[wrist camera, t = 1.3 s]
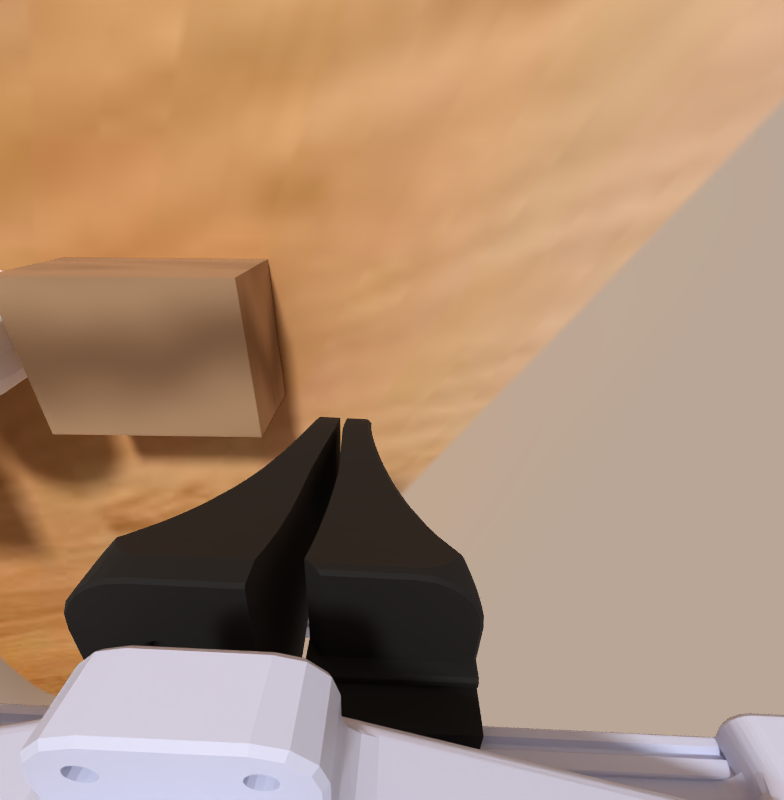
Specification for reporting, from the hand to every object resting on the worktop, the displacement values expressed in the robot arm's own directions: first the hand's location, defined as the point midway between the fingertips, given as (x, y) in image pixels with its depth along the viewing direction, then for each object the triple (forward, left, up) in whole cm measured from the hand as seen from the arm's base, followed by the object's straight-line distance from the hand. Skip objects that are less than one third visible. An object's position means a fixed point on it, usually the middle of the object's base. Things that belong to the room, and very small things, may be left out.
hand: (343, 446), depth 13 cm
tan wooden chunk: (0, +9, -10) cm, 13 cm away
